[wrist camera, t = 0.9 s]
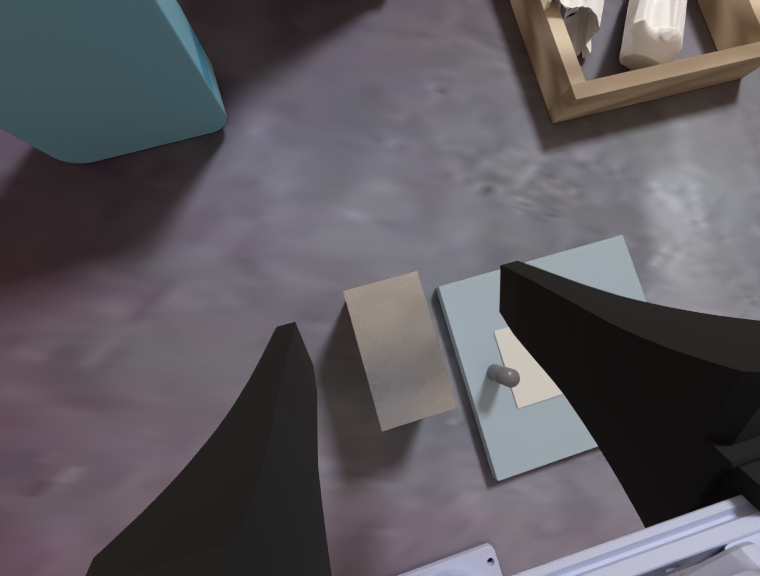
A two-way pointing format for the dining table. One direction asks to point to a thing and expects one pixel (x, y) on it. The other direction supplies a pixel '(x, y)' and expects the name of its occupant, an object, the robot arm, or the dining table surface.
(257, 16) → the dining table surface
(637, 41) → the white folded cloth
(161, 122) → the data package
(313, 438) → the robot arm
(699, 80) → the tan wooden shallow tray
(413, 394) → the brushed metal pillar
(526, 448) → the pegged base plate
